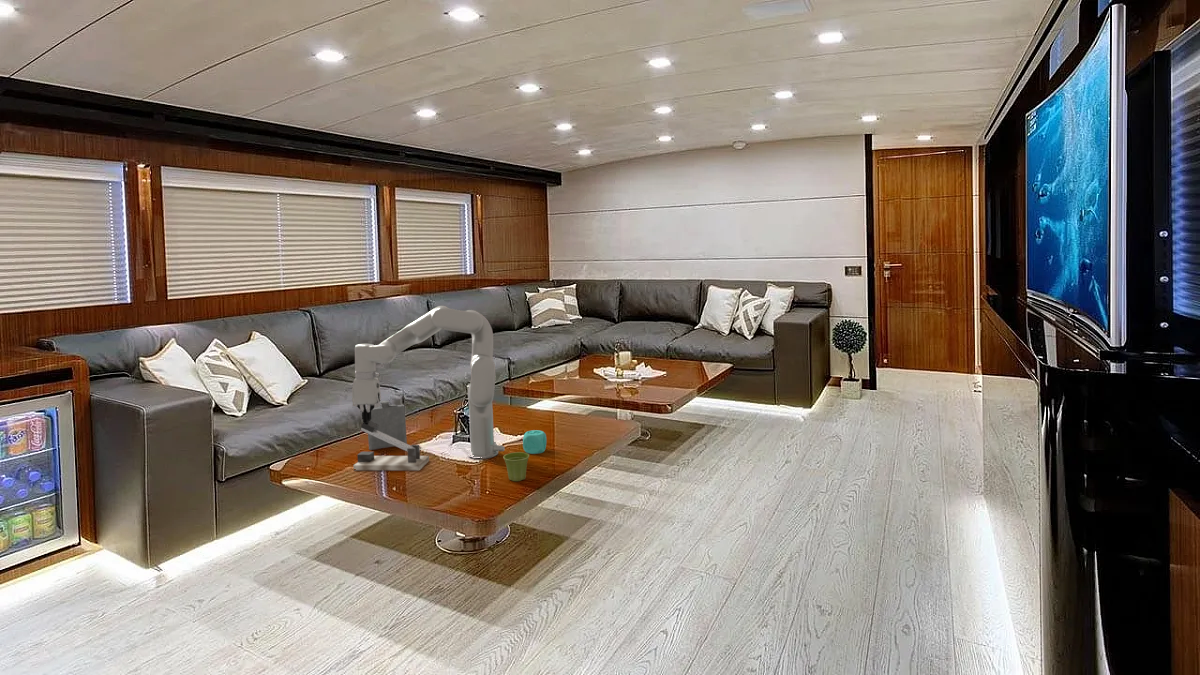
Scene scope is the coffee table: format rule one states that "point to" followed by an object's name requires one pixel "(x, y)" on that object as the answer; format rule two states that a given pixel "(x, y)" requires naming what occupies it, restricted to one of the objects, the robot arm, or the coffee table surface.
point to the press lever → (383, 435)
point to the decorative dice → (534, 442)
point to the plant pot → (516, 465)
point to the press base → (392, 461)
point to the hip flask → (388, 424)
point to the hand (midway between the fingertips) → (366, 421)
